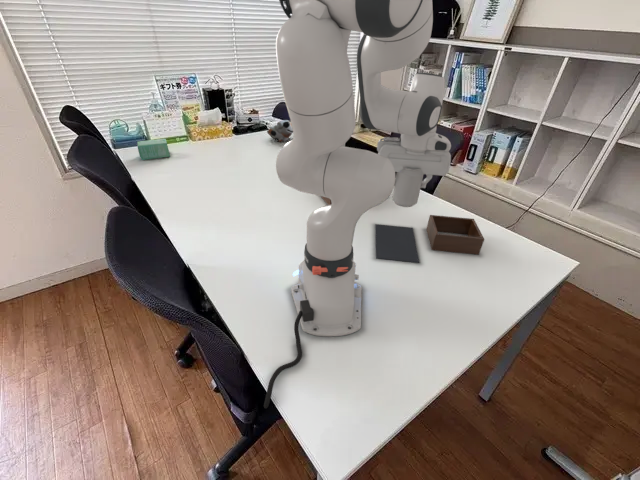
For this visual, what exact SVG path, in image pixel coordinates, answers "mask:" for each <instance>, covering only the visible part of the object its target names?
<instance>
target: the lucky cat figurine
mask: <svg viewBox="0 0 640 480" xmlns="http://www.w3.org/2000/svg"><path fill="white" fill-rule="evenodd" d="M266 133H267V134H268V135H269V137H270V138H271V139H272V140H275V141H277V142H278V143H281V142H287V141H288V140H289V138H290V137H291V136H292V135H293V129H292V125H291V120H288V119H283V120H280V121H278V122H276V124H275V125H273V126H271V127H270V128H268V129H267V131H266Z"/></svg>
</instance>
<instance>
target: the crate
mask: <svg viewBox="0 0 640 480" xmlns="http://www.w3.org/2000/svg"><path fill="white" fill-rule="evenodd" d="M425 230H426V231H425V232H426V234H427V239H428V241H429V246H430V249H431V251H436V252H437V251H438V252H448V253H458V254H466V255H467V254H468V255H477V256H478V255H480V252H481V250H482V247H483V244H484V242H485V237H484V236H483V234H482V232H481V230H480V228H479V225H478V224H477V222H476V220H475V218H470V217H457V216H447V215H438V214H437V215H436V214H430V215H429V216H428V221H427V225H426V229H425Z"/></svg>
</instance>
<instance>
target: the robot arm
mask: <svg viewBox="0 0 640 480" xmlns="http://www.w3.org/2000/svg"><path fill="white" fill-rule="evenodd" d="M278 2H279V4H280V8H281V9H282V11H283V12H284V14H285V16H286V17H287V18H288V19H287V20H286V21H285V22H284V23H283V24H282V25H281V26H280V28H279V30H278V33H277V35H276V40H275V54H276V63H277V71H278V78H279V82H280V86H281V91H282V96H283V99H284V102H285V106H286V109H287V113H288V117H289V121H290V122H291V125H292V129H293V133H292V137H293V138H292V139H291V140H289V141H288V142H287V141H286V143H285V144H284V145H283V146H282V147H281V148H280V150H279V152H278V153H277V157H276V160H275V170H276V174H277V177H278V179H279V181H280V182H281V184H283V185H285V186H288V187H289V188H292V189H294V190H296V191H298V192H302V193H306V194H310V195H313V196H314V195H315V196H317V197H321V196H322V197H327V198H329V199H331V202H332V204H331V205H328V204H327V205H323V206H320V207H318V208H316V209H315V210H313V211H312V212H311V214H310V215H309V216H308V218H307V220H306V243H305V245H304V249H303V256H304V259H303V260H302V262H300V263H299V264H298V269H297V270H295V271H294V272H293V273H292V276H293V277H295V276H297V278H298V279H297V283H296V284H294V285H292V286H291V288H290V292H291V293H290V294H291V296H292V299H293V303H294V306H295V310H296V313H297V316H296V318H295V321H294V326H293V330H294V338H295V345H296V350H297V354H296V355H297V356H296V358H295V359H293V360H292V361H290V362H288V363H284V364H282V365H280V366H278V368H276V370H274V372H273V374H272V375H271V377H270V379H269V381H268V385H267V389H266V394H265V398H264V403H263V408H264V409H268V408H269V406H270V402H271V398H272V393H273V389H274V384H275V381H276V380H277V378H278V376H279V375H280V374H281V372H283V371H285V370H287V369H291V368H293V367H295V366H296V365H298V364H299V363H300V361H301V359H302V357H303V350H302V345H301V337H300V331H299V326H300V327H301V330H302V331H303V332H304V333H307V334H309V335H311V336H312V335H313V336H316V337H317V336H318V337H341V336H346V335H351V334H354V333H356V332H358V331H360V330H361V328H362V290H363V289H362V288H363V287H362V285H361V284H359V283H358V282H356V281H359V277H360V275H359V274H356V268H357V263H356V262H355V261H354V255H355V254H354V246H353V242H354V236H355V231H356V226H357V224H358V222H359V220H360V218H361V217H362V216H363V215H364V214H365V213H366V212H367V211H369V210H370V209H372V208H374V207H377V206H379V205H381V204H382V203H384V202H385V201H386V200H387V199H388V198H389V197H390V196H391V194H392V193H393V191H394V186H395V183H396V173H397V172H400V171H401V170H403V167H405V168H409V169H420V168H421V170H420V171H421V172H422V173H423V174H424V175H426V177H425V178H423V180H422V183H421V188H420V189H426V187H427V184H428V183H429V182H430V181H431V180H432V179H433V176H441V177H444V176H446V175H448V174H449V171H450V168H451V162H452V155H451V153H450V150H451V148H452V144H451V141H450V140H449V138H448V137H446V136H444V135H442V134H439V133H437V126H438V124H439V123H440V118H441V112H442V109H443V102H444V95H445V87H446V86H445V85H446V79H445V77H444V76H443V75H441V74H436V73H430V72H418V73H415V74H414V75H413V76H412V77H413V78H412V80H411V84H410V87H409V90H402V89H396V88H390V87H386V86H384V85H383V84H382V77H381V76H382V73H383V72H389V71H397V70H400V69H402V68H405V67H407V66H409V65H410V64H412V63H413V62H414V61H416V60H417V59H418V58H419V57H420V56H421V55H422V53H423V52H424V51H425V50H426V48H427V47H428V44H429V42H430V40H431V36H432V31H433V23H434V10H433V0H278ZM353 31H354V32H359V33H363V36H361V39H360V41H359V44H358V46H357V51H356V72H357V83H358V91H359V118H360V121H361V122H362V124H363V126H364V127H365V128H366V129H368V130H375V131H385V132H389V133H394V134H400V137H389V136H384V137H382V138H380V139H379V140H378V141H377V144H376V151H377V152H374V151H371V150H367V149H361V148H357V147H356V148H355V147H351V146H350V147H349V146H345V145H344V144H346V143H347V142H348V141H349V140H350V139H351V137H352V135H353V134H354V131H355V128H356V124H357V123H356V121H357V120H356V110H355V109H356V108H355V107H356V106H355V97H354V86H353V85H354V84H353V77H352V72H351V71H352V70H351V64H350V59H349V55H348V46H349V40H350V36H351V33H352V32H353ZM322 197H321V198H322ZM299 324H300V325H299Z"/></svg>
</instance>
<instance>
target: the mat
mask: <svg viewBox="0 0 640 480" xmlns="http://www.w3.org/2000/svg"><path fill="white" fill-rule="evenodd" d="M374 228H375V259H376V260H386V261H387V260H388V261H395V262H407V263H416V264H420V256H419V253H418V247H417V243H416V238H415V233H414V228H413V227H409V226H400V225H389V224H377V223H375V225H374Z"/></svg>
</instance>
